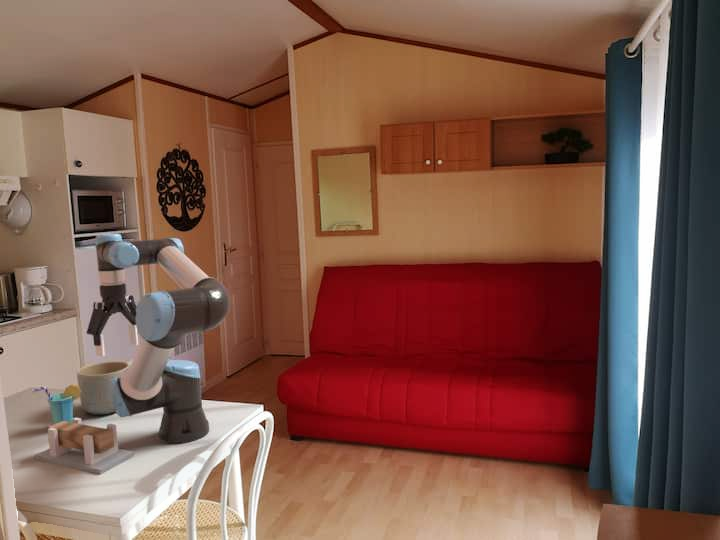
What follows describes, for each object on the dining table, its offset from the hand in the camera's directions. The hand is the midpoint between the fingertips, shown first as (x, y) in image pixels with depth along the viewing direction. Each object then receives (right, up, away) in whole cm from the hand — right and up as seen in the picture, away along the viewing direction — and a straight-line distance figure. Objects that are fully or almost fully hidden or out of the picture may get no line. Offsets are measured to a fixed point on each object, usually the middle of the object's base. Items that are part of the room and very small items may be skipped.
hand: (118, 349), depth 184 cm
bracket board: (-3, -29, -15) cm, 33 cm away
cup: (-22, -27, +7) cm, 35 cm away
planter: (-13, -25, +23) cm, 36 cm away
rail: (-4, -25, -16) cm, 30 cm away
